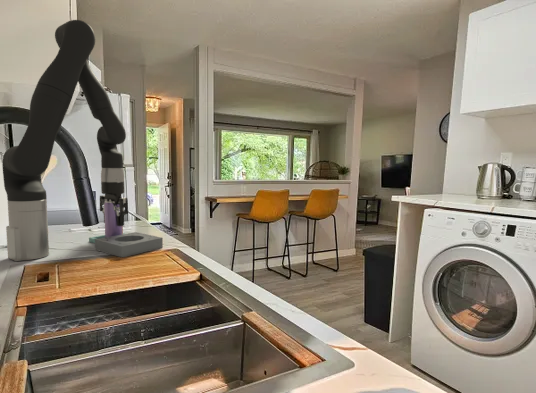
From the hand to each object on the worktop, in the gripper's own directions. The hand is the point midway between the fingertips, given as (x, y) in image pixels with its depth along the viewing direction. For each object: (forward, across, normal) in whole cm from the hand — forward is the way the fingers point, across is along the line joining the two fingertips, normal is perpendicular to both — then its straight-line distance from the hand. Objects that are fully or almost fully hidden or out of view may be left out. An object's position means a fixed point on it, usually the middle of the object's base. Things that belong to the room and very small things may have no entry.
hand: (113, 224), depth 115 cm
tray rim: (+6, 0, 0) cm, 6 cm away
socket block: (+6, +14, -3) cm, 16 cm away
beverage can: (+6, 0, 0) cm, 6 cm away
